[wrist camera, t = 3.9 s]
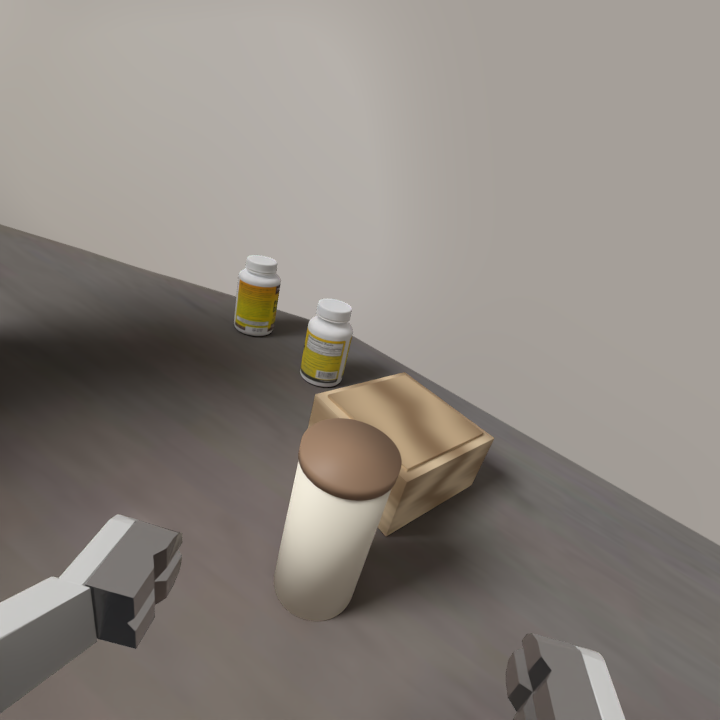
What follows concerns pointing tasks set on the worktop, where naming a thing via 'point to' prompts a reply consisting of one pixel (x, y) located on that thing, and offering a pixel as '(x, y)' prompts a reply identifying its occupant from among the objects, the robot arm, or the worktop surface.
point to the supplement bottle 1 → (257, 296)
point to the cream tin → (333, 515)
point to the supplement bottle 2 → (327, 343)
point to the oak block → (412, 441)
